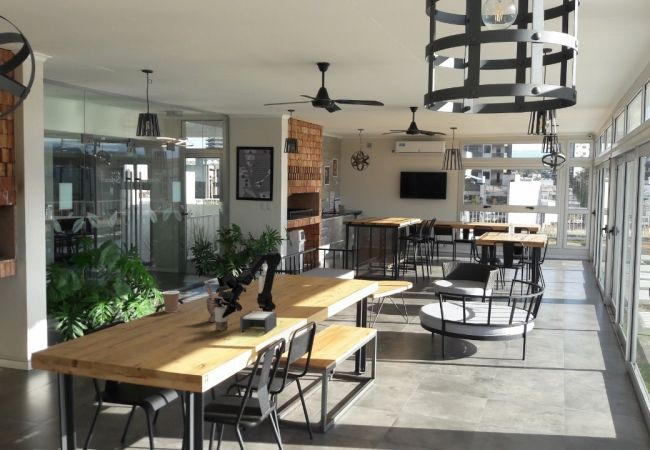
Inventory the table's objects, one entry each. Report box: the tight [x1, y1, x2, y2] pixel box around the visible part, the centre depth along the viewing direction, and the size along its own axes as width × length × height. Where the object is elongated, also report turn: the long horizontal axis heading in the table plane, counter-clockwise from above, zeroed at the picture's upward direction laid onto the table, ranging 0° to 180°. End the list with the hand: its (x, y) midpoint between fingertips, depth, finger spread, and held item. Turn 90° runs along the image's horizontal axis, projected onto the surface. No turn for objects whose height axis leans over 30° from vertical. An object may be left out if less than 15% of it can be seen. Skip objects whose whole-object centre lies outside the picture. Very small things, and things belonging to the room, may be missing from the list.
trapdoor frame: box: [239, 310, 278, 334], centre depth 340 cm, size 16×15×8 cm
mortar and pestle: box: [205, 285, 223, 323], centre depth 360 cm, size 12×9×20 cm
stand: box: [215, 321, 228, 332], centre depth 338 cm, size 4×4×5 cm
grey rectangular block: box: [215, 306, 229, 322], centre depth 338 cm, size 5×5×7 cm
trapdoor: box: [243, 310, 274, 320], centre depth 340 cm, size 16×12×3 cm
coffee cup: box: [162, 290, 180, 313], centre depth 387 cm, size 10×10×12 cm
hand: (219, 316), depth 337 cm, fingers closed on grey rectangular block, 5 cm apart
